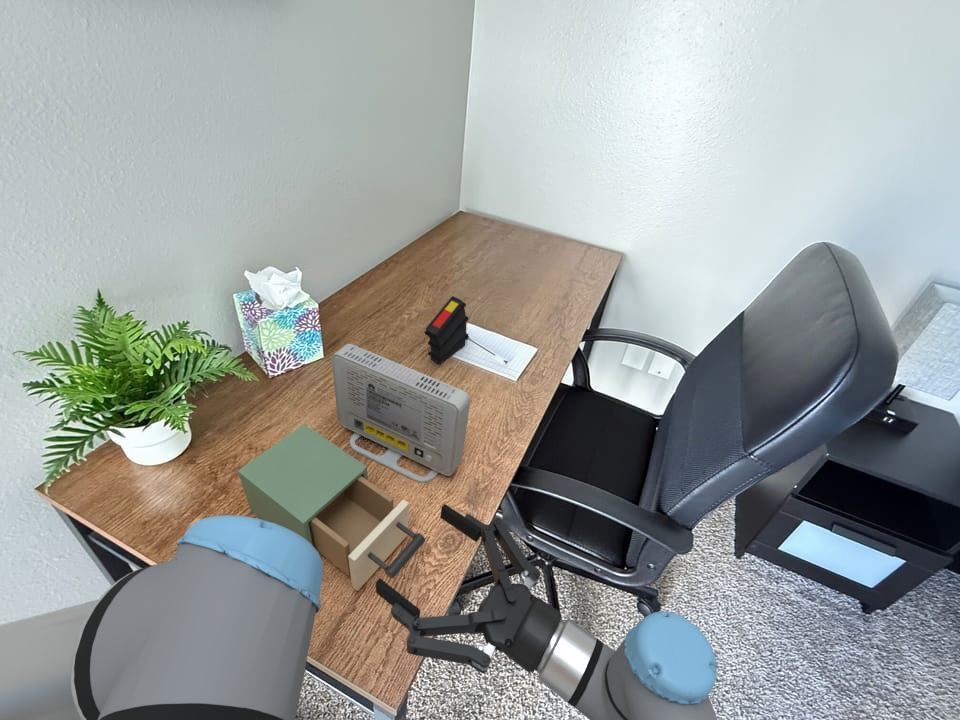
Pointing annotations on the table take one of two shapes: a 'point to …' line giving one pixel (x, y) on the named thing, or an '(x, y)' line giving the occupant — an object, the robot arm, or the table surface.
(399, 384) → the network device
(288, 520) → the cabinet
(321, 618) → the table surface
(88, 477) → the table surface
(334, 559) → the drawer
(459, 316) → the black electronic module
